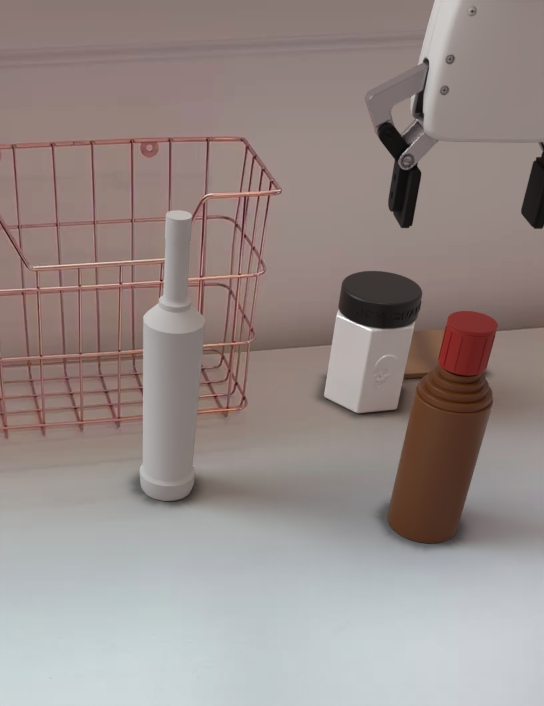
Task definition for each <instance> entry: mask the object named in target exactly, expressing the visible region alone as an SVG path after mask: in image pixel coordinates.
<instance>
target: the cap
mask: <svg viewBox="0 0 544 706" xmlns="http://www.w3.org/2000/svg"><path fill="white" fill-rule="evenodd" d="M498 326H499V325H498V322H497V320H495V319H494V318H493V317H492V316H490V315H488V314H485V313H482V312H479V311H473V310H458V311H454V312H452V313H449V315H448V316H447V320H446V324H445V328H444V329H445V332H444V336H443V340H442V344H441V349H440V353H439V357H438V363H439V365H440V366H441V367H442V368H444V369H445V370H447V371H449V372H452V373H455V374H459V375H468V376H470V375H478V374H481V373H484V372H486V370H487V367H488V364H489V360H490V357H491V353H492V349H493V347H494V342H495V339H496V334H497V331H498Z"/></svg>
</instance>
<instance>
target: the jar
mask: <svg viewBox="0 0 544 706" xmlns="http://www.w3.org/2000/svg"><path fill="white" fill-rule="evenodd" d="M338 298H339V300H338V305H337V307H338V310H337V313H336V316H335V321H334V328H333V334H332V341H331V348H330V354H329V361H328V365H327V372H326V380H325V386H324V393H323V396H324V398H325V399H327V400H328V401H330V402H333V403H335V404H336V405H339V406H341V407H343V408H345V409H347V410H349V411H351V412H353V413H354V414H355V413H356V414H367V413H374V412H375V413H376V412H386V411H395V410H397V408H398V406H399V401H400V396H401V393H402V388H403V382H404V380H405V379H404V374H405V369H406V364H407V360H408V355H409V350H410V345H411V341H412V336H413V331H415V326H416V321H417V319H418V318H419V317H418V316H419V313H420V311H421V306H422V302H423V301H422V298H423V290H422V287H421V286H420V285H419V284H418V283H417V282H416V281H414V280H413V279H411V278H409V277H406V276H404V275H401V274H398V273H394V272H389V271H383V270H364V271H357V272H354V273H352V274H349V275H347V276H346V277H345V278H344V279H343V280H342V282H341V286H340V292H339V297H338Z"/></svg>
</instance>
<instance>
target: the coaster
mask: <svg viewBox="0 0 544 706" xmlns="http://www.w3.org/2000/svg"><path fill="white" fill-rule="evenodd" d="M444 332H445V328H444V329H441V328H440V329H425V330H414V331H413V336H412V341H411V345H410V350H409V355H408V360H407V364H406V369H405V374H404V379H403V380H405V379H417V378H423V377H424V376H425V375H427V374H428V373H429V372H430V371H431V370H433V369H434V368H435V367H436V366H437V365H439V363H438V357H439V353H440V349H441V344H442V340H443V336H444Z"/></svg>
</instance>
